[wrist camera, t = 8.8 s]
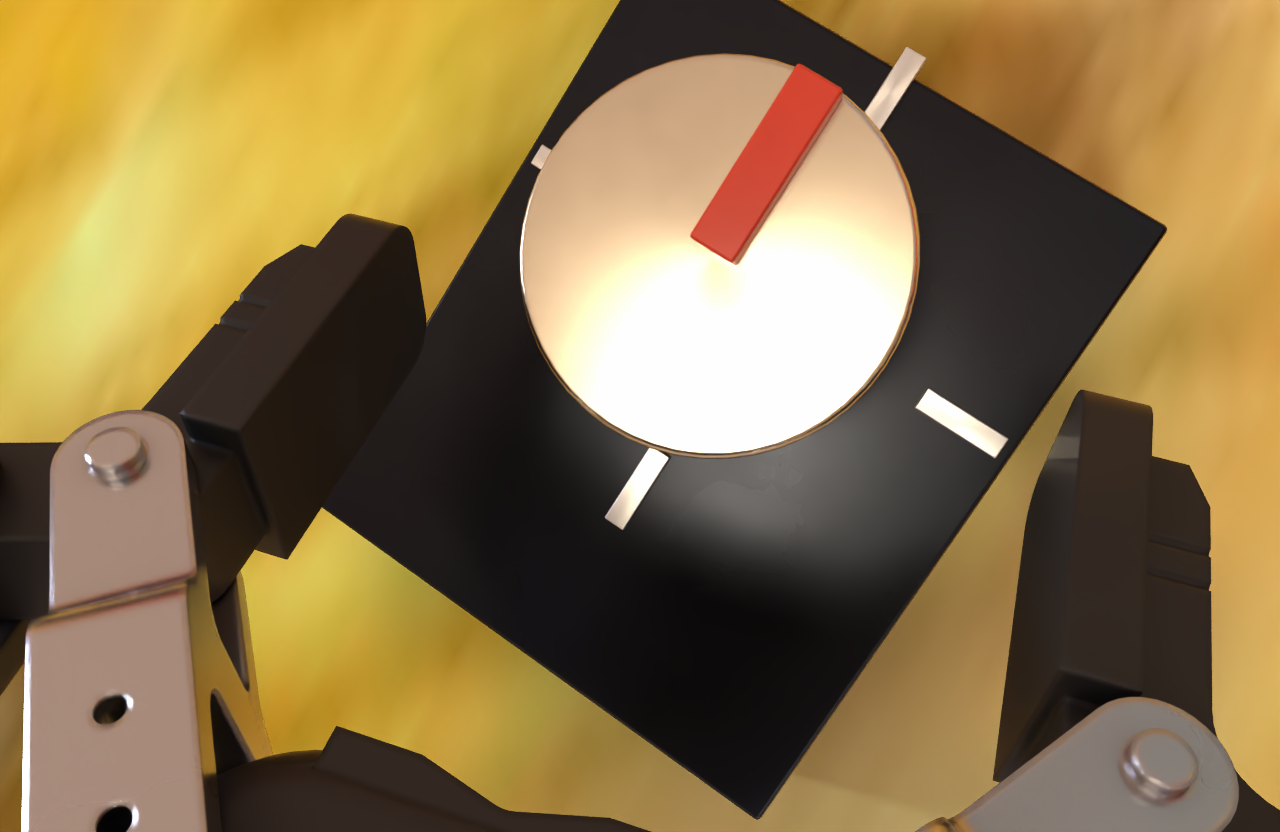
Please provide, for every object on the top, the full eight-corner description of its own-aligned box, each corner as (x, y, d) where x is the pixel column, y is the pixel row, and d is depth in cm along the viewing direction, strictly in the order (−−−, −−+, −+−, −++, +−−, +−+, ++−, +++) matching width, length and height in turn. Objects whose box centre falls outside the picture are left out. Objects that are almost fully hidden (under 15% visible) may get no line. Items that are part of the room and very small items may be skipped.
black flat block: (771, 771, 20) (757, 827, 18) (378, 491, 22) (311, 505, 19) (1143, 231, 19) (1186, 207, 16) (695, -31, 20) (668, -93, 18)
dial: (802, 491, 18) (768, 542, 12) (571, 339, 18) (435, 318, 13) (963, 249, 17) (1008, 181, 11) (719, 101, 18) (646, -33, 12)
